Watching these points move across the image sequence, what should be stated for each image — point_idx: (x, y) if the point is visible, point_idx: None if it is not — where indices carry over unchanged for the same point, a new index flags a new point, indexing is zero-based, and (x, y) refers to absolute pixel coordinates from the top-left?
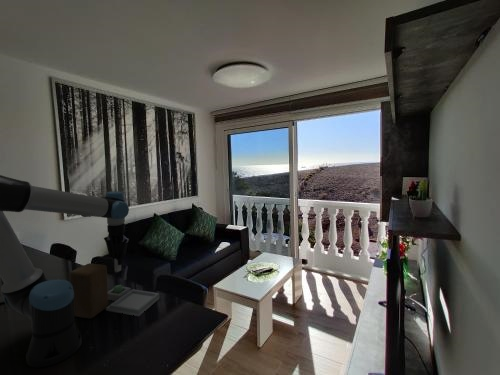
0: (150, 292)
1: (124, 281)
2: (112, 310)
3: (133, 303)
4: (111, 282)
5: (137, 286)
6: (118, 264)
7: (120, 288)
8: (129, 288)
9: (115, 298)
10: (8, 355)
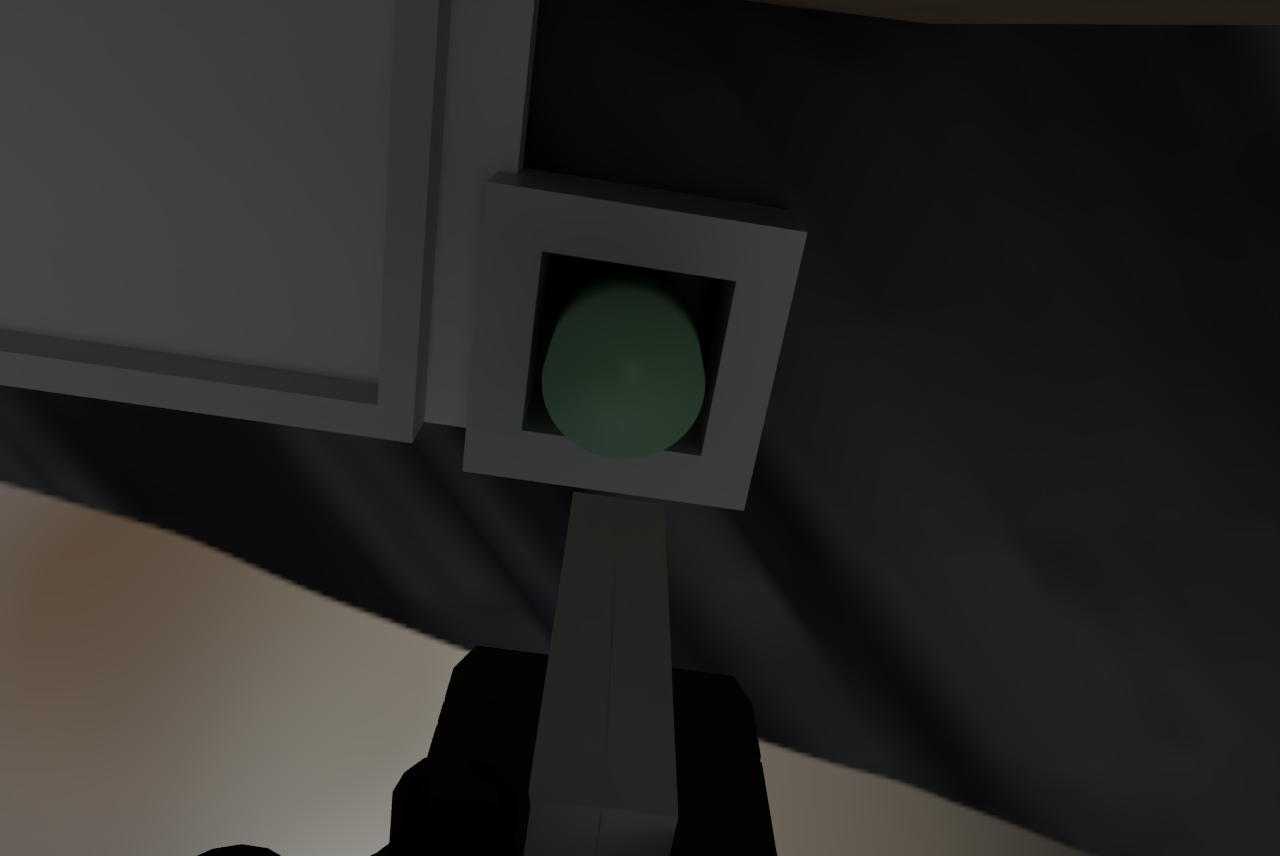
0: (27, 374)
1: (804, 733)
2: None
3: (150, 64)
4: (987, 690)
5: (518, 627)
6: (526, 665)
7: (550, 345)
8: (471, 447)
9: (575, 184)
10: None
